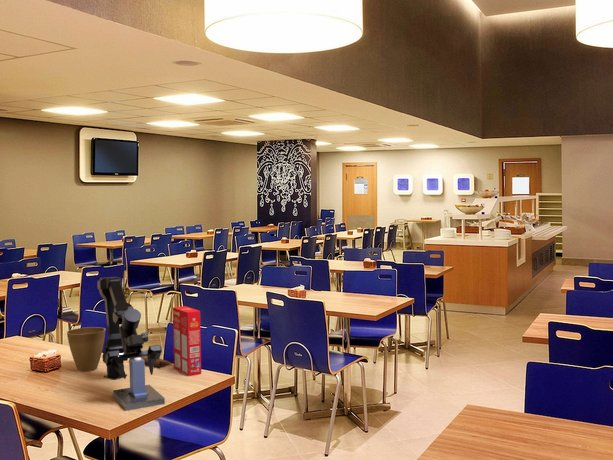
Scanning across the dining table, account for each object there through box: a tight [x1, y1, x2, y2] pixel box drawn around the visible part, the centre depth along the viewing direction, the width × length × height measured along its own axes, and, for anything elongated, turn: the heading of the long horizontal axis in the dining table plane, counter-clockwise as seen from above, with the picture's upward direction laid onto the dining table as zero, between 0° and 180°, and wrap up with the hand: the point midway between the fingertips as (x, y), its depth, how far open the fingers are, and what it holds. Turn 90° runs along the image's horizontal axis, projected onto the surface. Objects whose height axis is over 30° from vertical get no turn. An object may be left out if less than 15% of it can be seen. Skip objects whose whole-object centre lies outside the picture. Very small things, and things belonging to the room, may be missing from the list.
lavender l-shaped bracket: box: [127, 357, 147, 399], centre depth 220 cm, size 10×4×15 cm, turn 29°
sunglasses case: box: [128, 356, 173, 369], centre depth 268 cm, size 18×7×7 cm
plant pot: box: [66, 326, 107, 372], centre depth 260 cm, size 15×15×16 cm
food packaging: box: [172, 305, 202, 377], centre depth 255 cm, size 15×5×25 cm, turn 34°
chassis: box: [112, 384, 166, 411], centre depth 220 cm, size 18×13×2 cm
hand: (138, 376), depth 218 cm, fingers open, 9 cm apart
